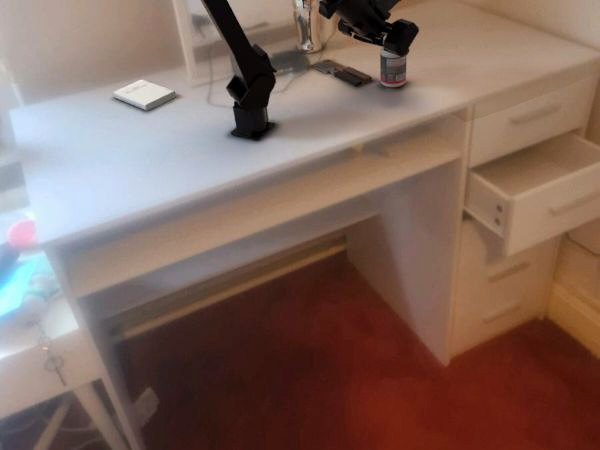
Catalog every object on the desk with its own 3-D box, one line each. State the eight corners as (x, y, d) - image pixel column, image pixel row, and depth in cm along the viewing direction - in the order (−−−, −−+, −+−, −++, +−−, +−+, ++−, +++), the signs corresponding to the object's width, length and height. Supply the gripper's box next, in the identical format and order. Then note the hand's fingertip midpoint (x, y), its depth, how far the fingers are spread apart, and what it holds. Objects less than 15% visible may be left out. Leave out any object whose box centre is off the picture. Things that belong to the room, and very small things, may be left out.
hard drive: (146, 112, 128) (114, 98, 136) (176, 97, 133) (143, 84, 140) (144, 105, 127) (112, 91, 135) (175, 90, 132) (142, 78, 139)
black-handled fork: (364, 83, 129) (364, 80, 128) (354, 87, 128) (354, 83, 127) (320, 63, 140) (320, 59, 139) (311, 66, 139) (310, 63, 138)
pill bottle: (379, 77, 130) (379, 33, 124) (404, 76, 129) (405, 31, 123) (381, 88, 125) (380, 43, 119) (407, 87, 125) (408, 41, 119)
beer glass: (321, 53, 144) (316, -11, 135) (293, 54, 146) (286, -10, 137) (326, 42, 150) (321, -20, 141) (298, 43, 151) (292, -19, 142)
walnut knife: (372, 80, 130) (372, 76, 129) (365, 83, 129) (364, 79, 128) (327, 60, 141) (327, 56, 140) (320, 62, 140) (320, 58, 140)
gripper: (412, -22, 105) (453, 24, 116) (346, -39, 118) (389, 4, 129) (378, 35, 106) (422, 75, 118) (316, 12, 119) (361, 50, 130)
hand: (398, 49), depth 124 cm, fingers closed on pill bottle, 5 cm apart
